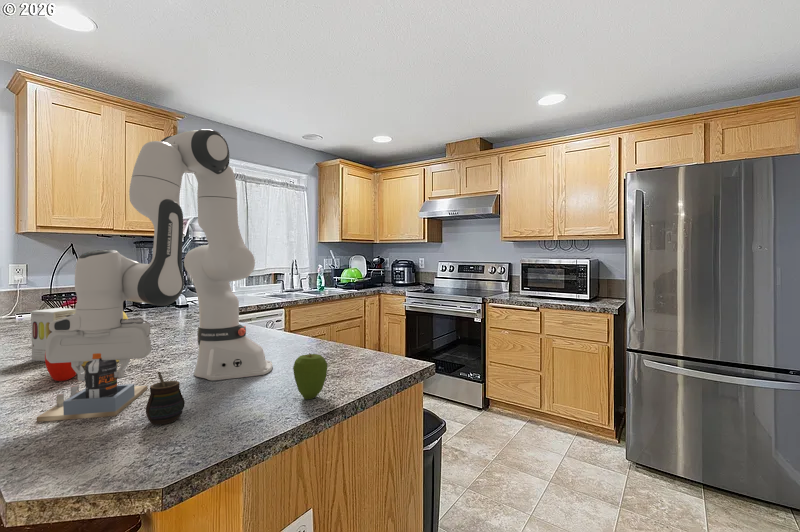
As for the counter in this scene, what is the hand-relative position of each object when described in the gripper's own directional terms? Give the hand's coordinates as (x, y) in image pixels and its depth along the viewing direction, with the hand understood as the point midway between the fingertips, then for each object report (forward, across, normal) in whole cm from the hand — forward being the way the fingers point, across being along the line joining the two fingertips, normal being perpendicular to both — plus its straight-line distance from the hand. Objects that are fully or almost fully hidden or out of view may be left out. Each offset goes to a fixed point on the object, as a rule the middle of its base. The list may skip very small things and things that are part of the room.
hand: (101, 379), depth 93 cm
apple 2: (+7, -47, +3) cm, 48 cm away
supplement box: (+7, +38, -56) cm, 68 cm away
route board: (+7, +3, -4) cm, 8 cm away
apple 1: (+7, +22, -28) cm, 36 cm away
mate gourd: (+7, -16, +10) cm, 21 cm away
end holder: (+7, 0, 0) cm, 7 cm away
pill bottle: (+5, 0, 0) cm, 5 cm away
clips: (+6, +8, -5) cm, 11 cm away
